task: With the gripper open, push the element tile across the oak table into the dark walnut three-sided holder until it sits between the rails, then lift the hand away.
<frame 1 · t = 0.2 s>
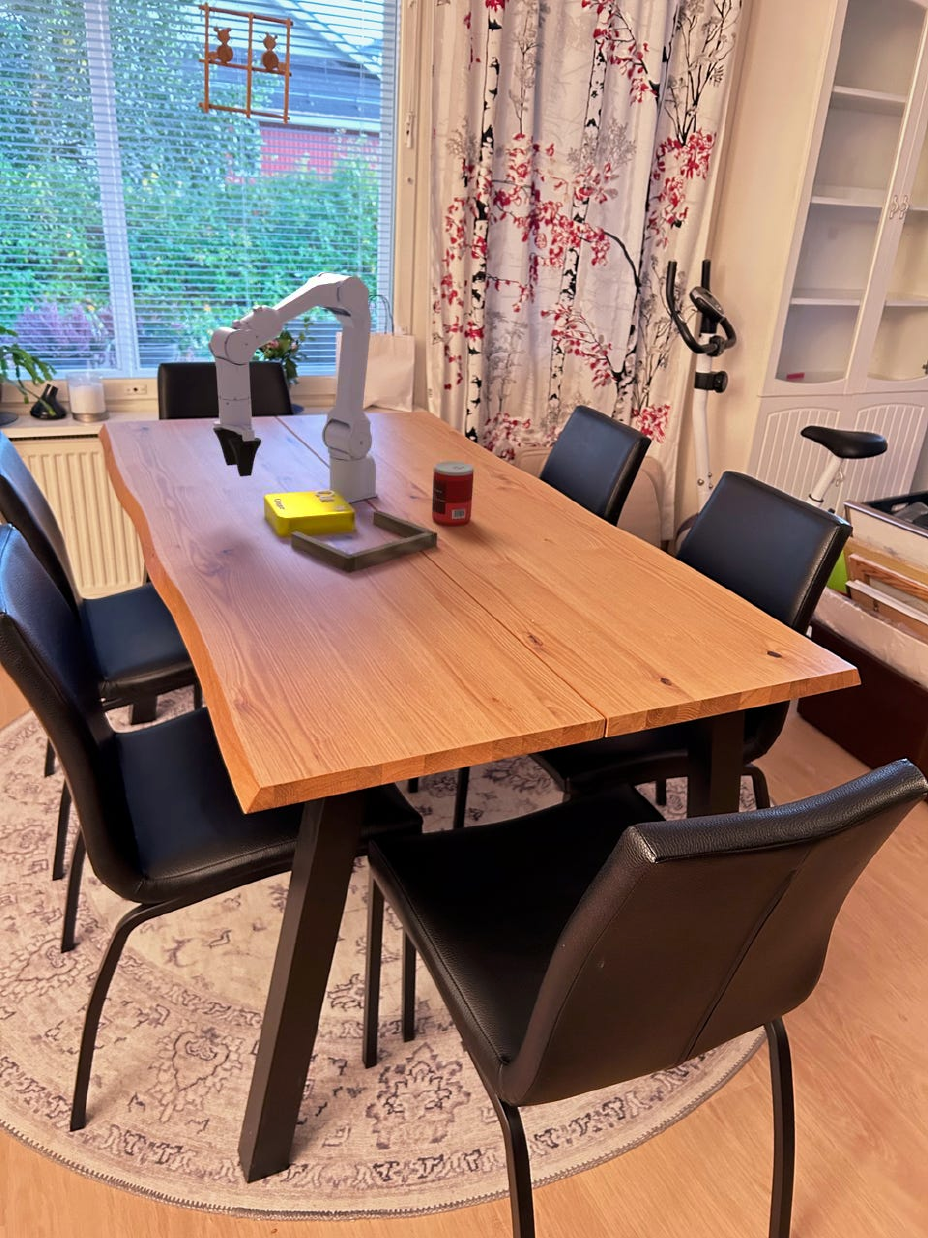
hand: (238, 470, 168), 10 cm above the table, tool pointing down, fingers open, 7 cm apart
canned food: (451, 521, 179), on the table
walnut holder: (363, 545, 163), on the table
element tile: (309, 525, 173), on the table
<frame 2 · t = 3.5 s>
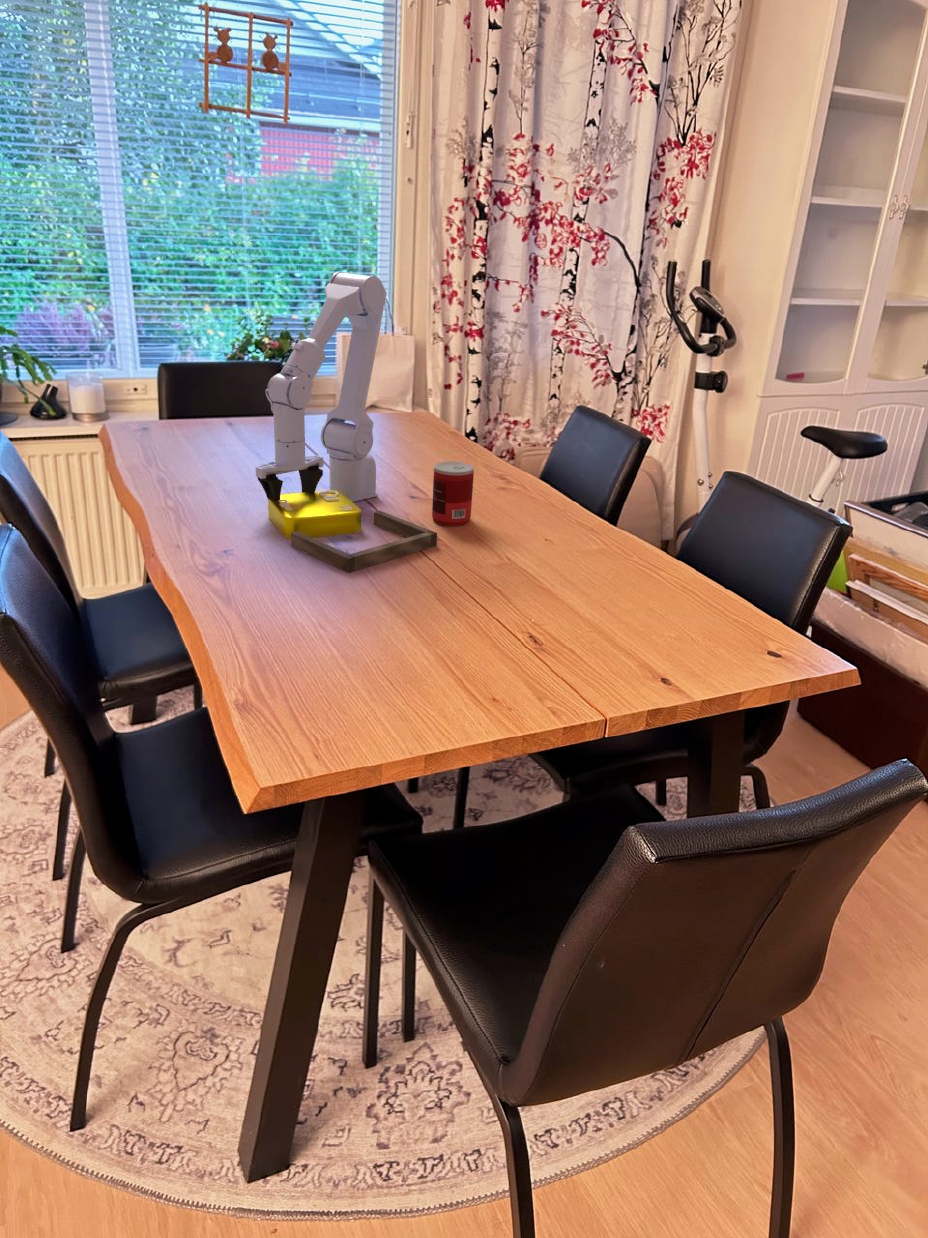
hand: (291, 507, 176), 1 cm above the table, tool pointing down, fingers open, 7 cm apart
element tile: (314, 525, 173), on the table, touching gripper
everything else where it was.
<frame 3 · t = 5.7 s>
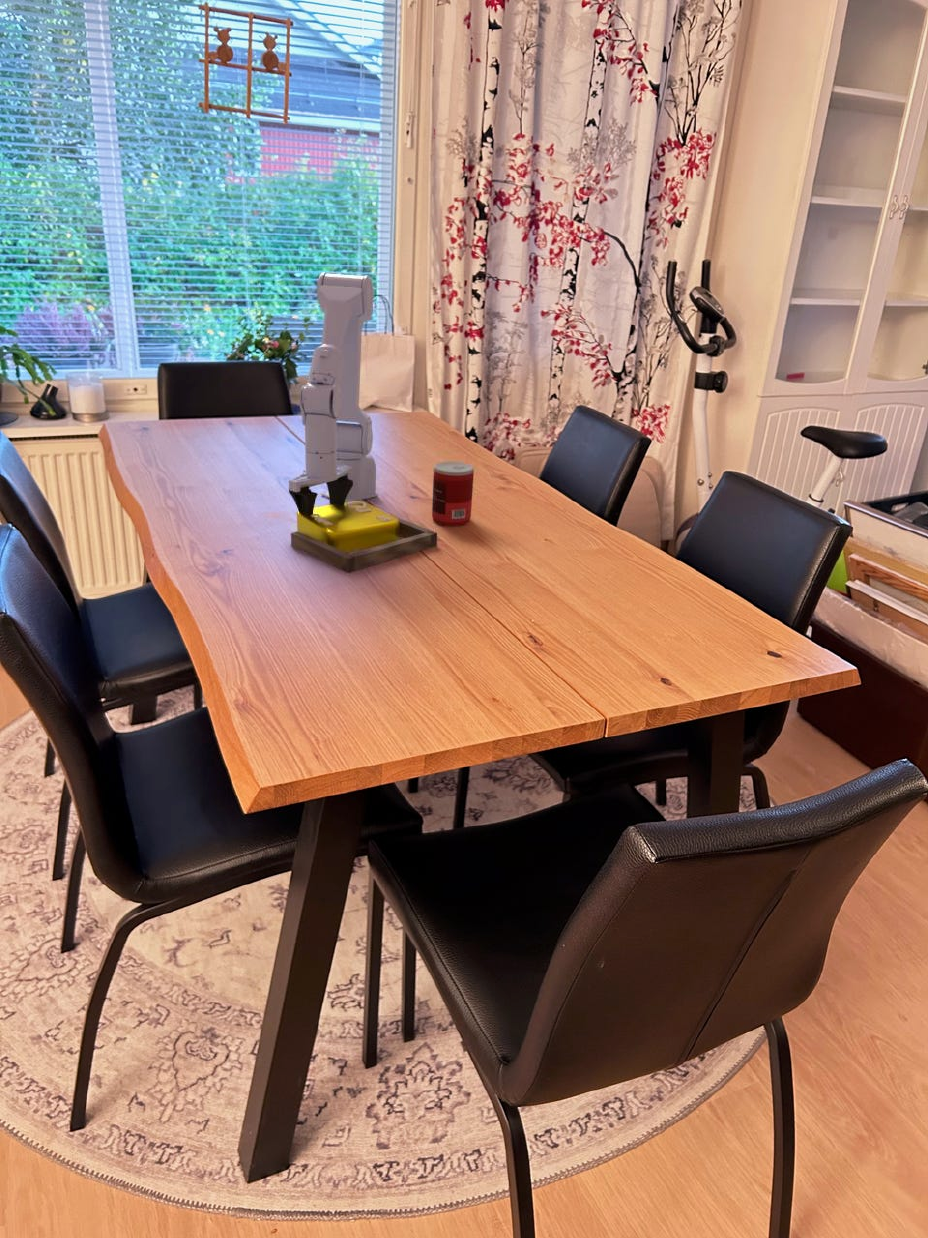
hand: (321, 520, 170), 1 cm above the table, tool pointing down, fingers open, 7 cm apart
element tile: (347, 538, 168), on the table
everything else where it was.
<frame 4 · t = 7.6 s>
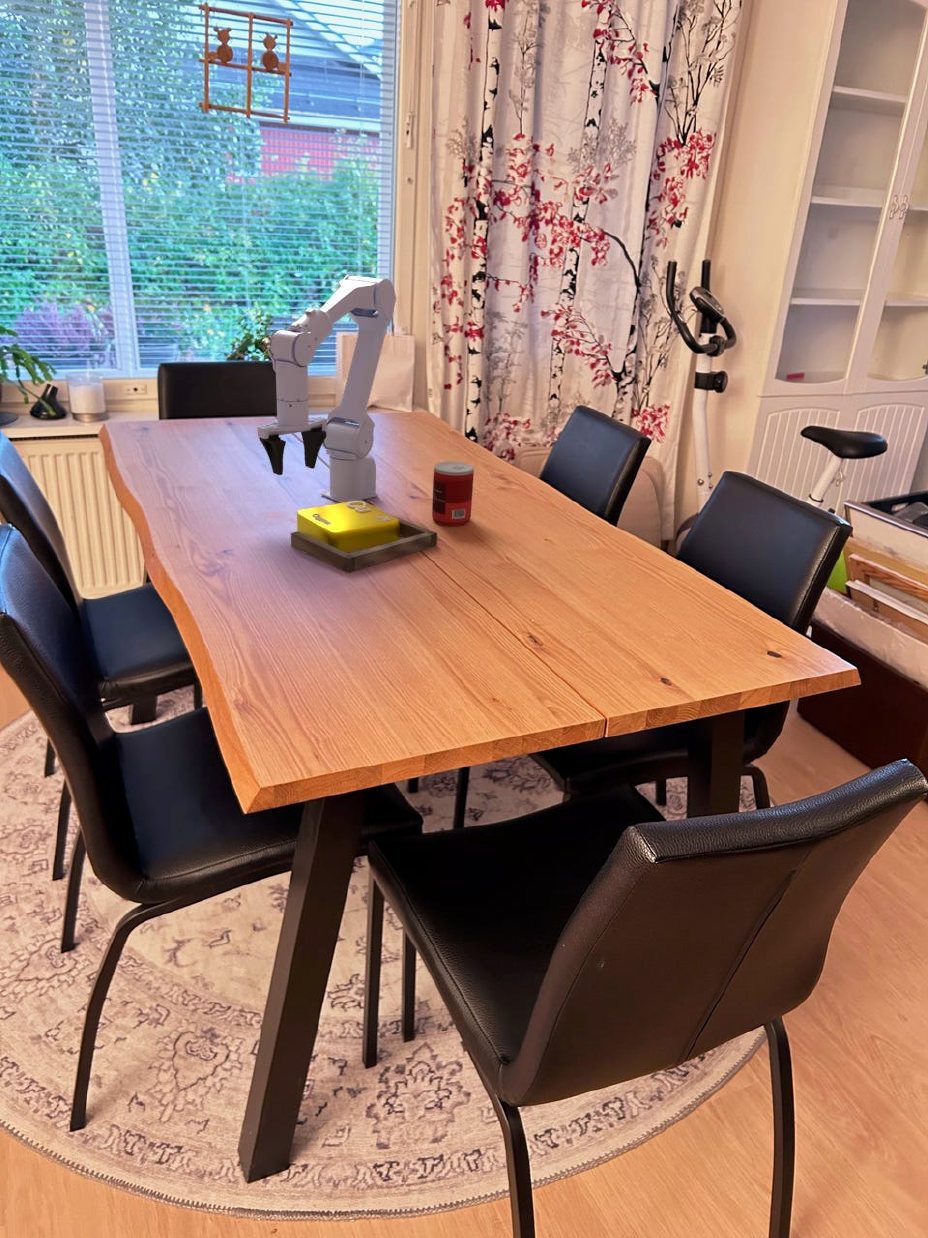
hand: (294, 470, 171), 9 cm above the table, tool pointing down, fingers open, 7 cm apart
nothing on the table moved.
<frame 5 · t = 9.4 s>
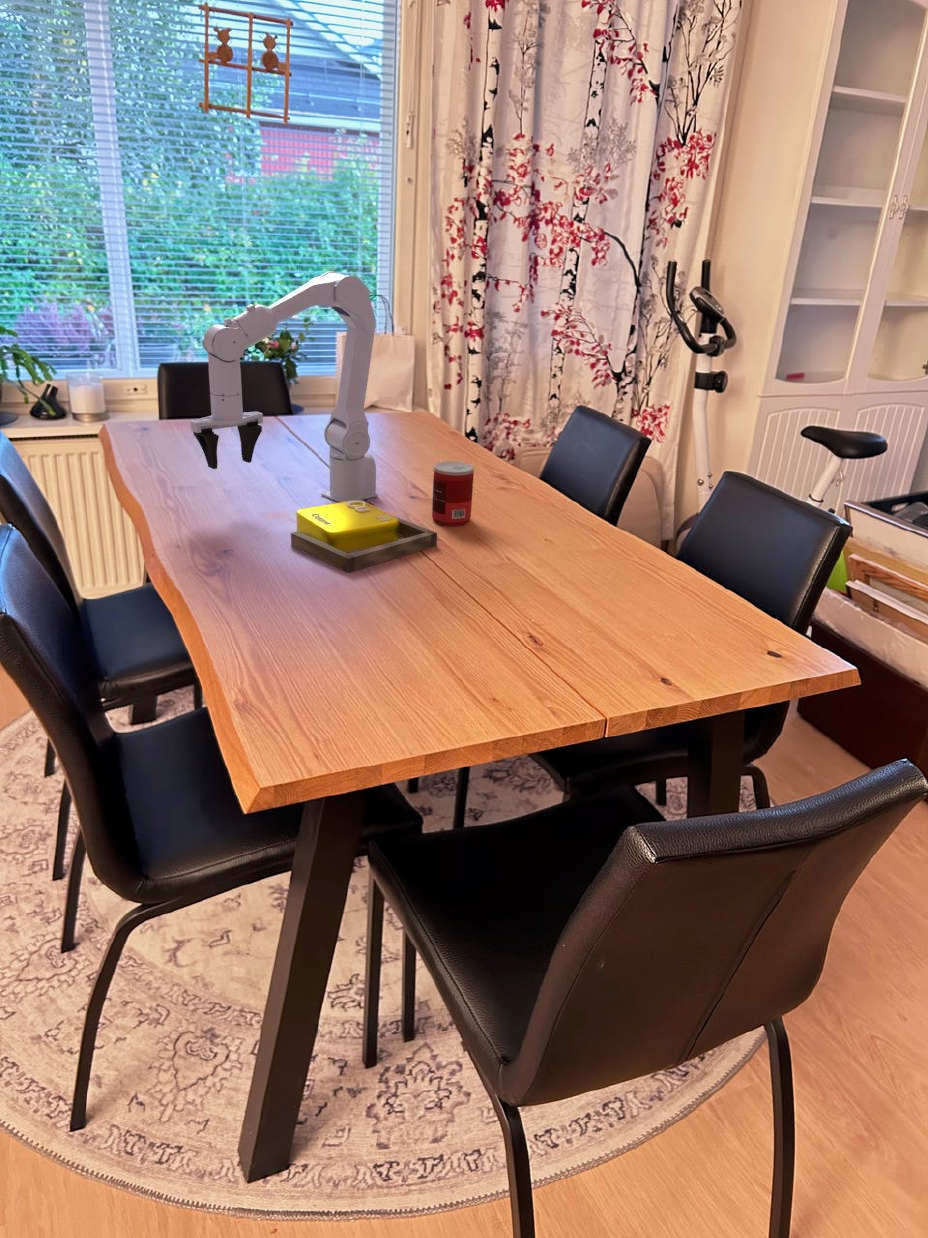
hand: (230, 464, 172), 9 cm above the table, tool pointing down, fingers open, 7 cm apart
nothing on the table moved.
at the end: element tile 3.3 cm from the target spot, on the table; element tile moved 10.1 cm from its start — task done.
